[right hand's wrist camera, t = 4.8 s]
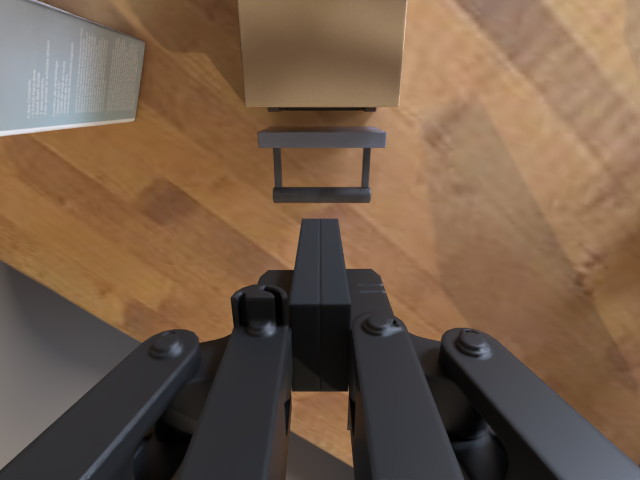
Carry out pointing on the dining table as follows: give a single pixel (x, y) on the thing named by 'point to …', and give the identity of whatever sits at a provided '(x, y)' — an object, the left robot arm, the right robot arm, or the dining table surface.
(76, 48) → the hard drive box
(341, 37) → the cabinet
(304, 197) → the drawer
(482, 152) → the dining table surface
